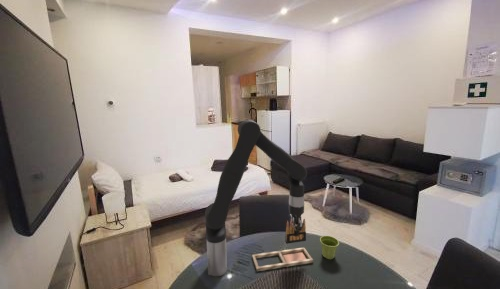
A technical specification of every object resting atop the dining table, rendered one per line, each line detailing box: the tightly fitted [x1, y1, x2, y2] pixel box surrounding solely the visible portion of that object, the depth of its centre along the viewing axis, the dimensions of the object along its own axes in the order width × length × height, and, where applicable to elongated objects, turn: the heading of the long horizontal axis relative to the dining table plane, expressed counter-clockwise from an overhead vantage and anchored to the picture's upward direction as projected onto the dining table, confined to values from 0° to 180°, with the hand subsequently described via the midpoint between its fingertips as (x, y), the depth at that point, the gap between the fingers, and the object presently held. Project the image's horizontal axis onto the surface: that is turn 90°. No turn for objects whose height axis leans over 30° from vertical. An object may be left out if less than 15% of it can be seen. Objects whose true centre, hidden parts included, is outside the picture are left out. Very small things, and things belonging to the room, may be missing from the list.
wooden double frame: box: [251, 247, 314, 272], centre depth 119 cm, size 29×10×2 cm, turn 102°
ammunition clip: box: [284, 218, 307, 244], centre depth 118 cm, size 11×2×12 cm, turn 102°
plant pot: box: [319, 235, 340, 260], centre depth 122 cm, size 9×9×9 cm
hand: (295, 234), depth 118 cm, fingers closed on ammunition clip, 2 cm apart
